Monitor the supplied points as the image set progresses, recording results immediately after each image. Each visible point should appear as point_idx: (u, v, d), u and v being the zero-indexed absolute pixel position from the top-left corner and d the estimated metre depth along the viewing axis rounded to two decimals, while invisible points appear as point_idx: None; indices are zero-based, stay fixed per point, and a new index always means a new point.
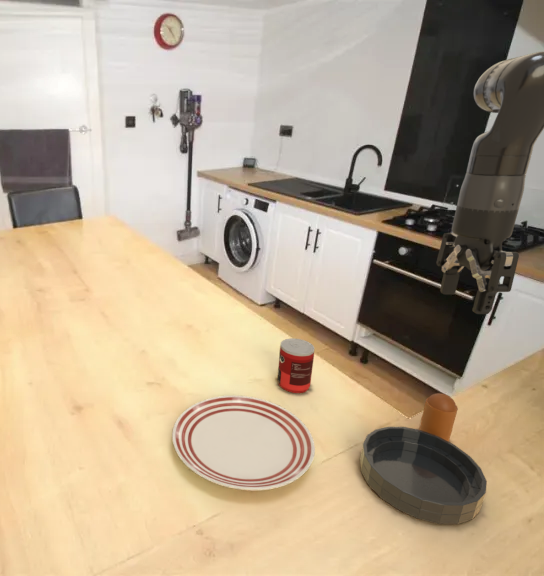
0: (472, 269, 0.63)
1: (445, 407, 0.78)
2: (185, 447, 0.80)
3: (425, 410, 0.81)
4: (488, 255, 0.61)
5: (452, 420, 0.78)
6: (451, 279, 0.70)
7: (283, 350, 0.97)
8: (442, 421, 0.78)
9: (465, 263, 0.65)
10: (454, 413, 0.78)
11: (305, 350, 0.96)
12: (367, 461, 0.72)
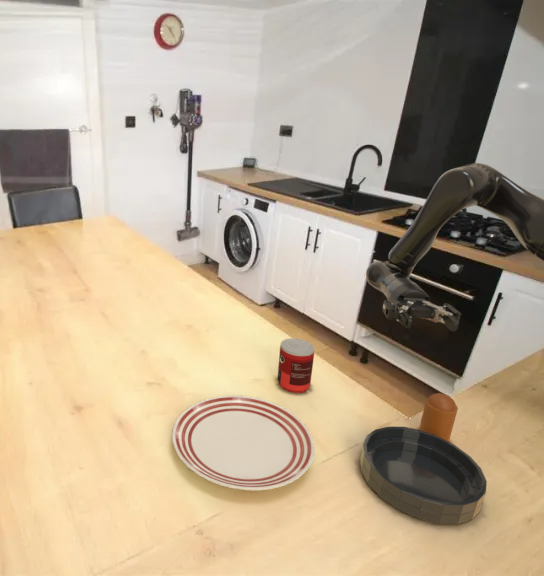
0: None
1: (445, 407, 0.78)
2: (185, 447, 0.80)
3: (425, 410, 0.81)
4: (396, 310, 0.95)
5: (452, 420, 0.78)
6: (447, 322, 0.87)
7: (283, 350, 0.97)
8: (442, 421, 0.78)
9: None
10: (454, 413, 0.78)
11: (305, 350, 0.96)
12: (367, 461, 0.72)
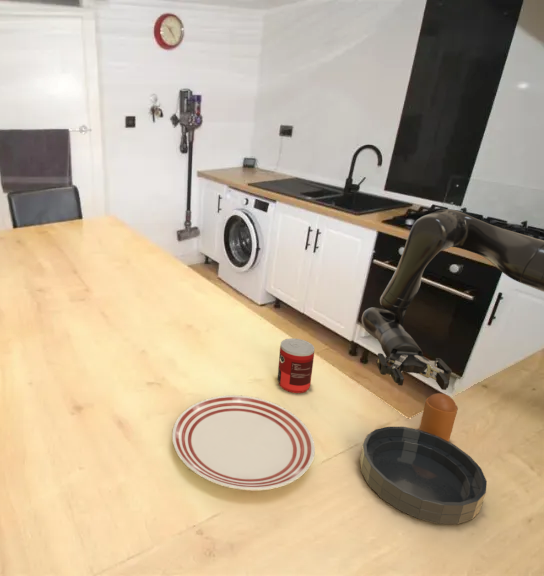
0: None
1: (445, 407, 0.78)
2: (185, 447, 0.80)
3: (425, 410, 0.81)
4: (390, 363, 0.98)
5: (452, 420, 0.78)
6: (438, 379, 0.90)
7: (283, 350, 0.97)
8: (442, 421, 0.78)
9: None
10: (454, 413, 0.78)
11: (305, 350, 0.96)
12: (367, 461, 0.72)
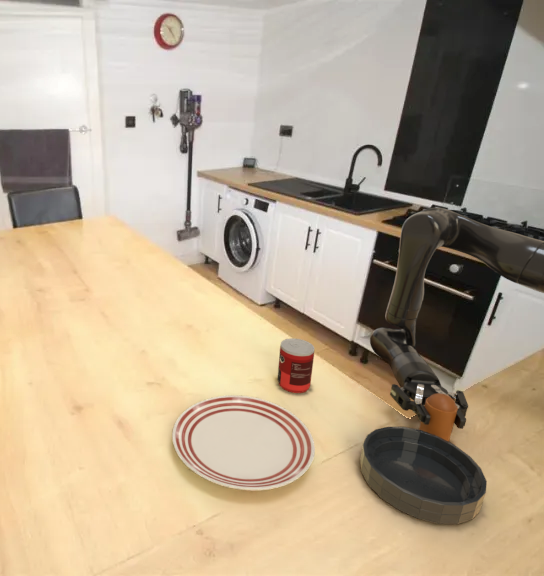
0: None
1: (445, 407, 0.78)
2: (185, 447, 0.80)
3: None
4: None
5: (452, 420, 0.78)
6: None
7: (283, 350, 0.97)
8: (442, 421, 0.78)
9: None
10: (454, 413, 0.78)
11: (305, 350, 0.96)
12: (367, 461, 0.72)
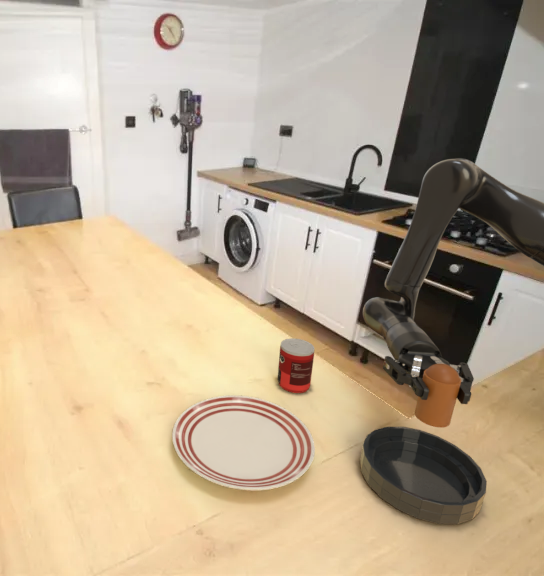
0: None
1: (447, 379, 0.66)
2: (185, 447, 0.80)
3: None
4: None
5: (455, 394, 0.66)
6: None
7: (283, 350, 0.97)
8: (442, 396, 0.67)
9: None
10: (457, 386, 0.66)
11: (305, 350, 0.96)
12: (367, 461, 0.72)
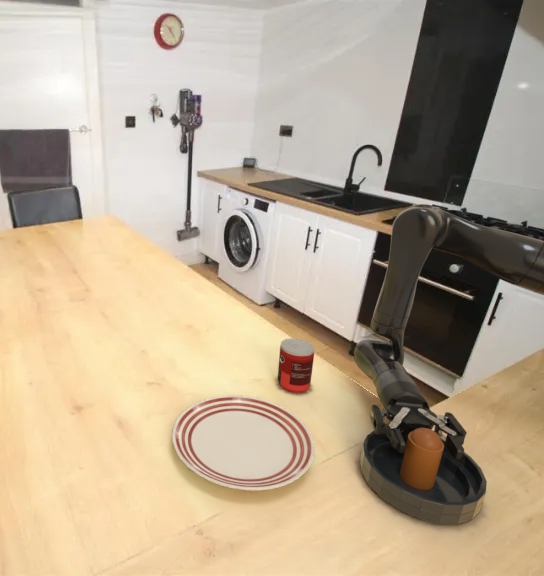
0: None
1: (430, 445, 0.68)
2: (185, 447, 0.80)
3: (407, 447, 0.71)
4: (387, 418, 0.78)
5: (437, 460, 0.68)
6: (449, 444, 0.70)
7: (283, 350, 0.97)
8: (426, 461, 0.68)
9: None
10: (440, 452, 0.68)
11: (305, 350, 0.96)
12: (367, 461, 0.72)
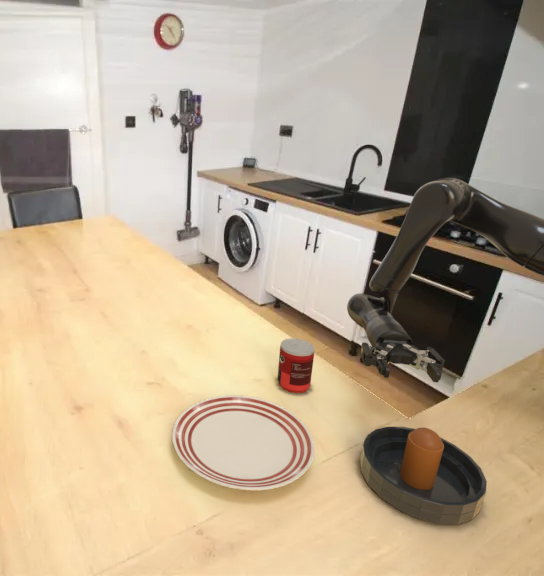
0: None
1: (430, 445, 0.68)
2: (185, 447, 0.80)
3: (407, 447, 0.71)
4: None
5: (437, 460, 0.68)
6: (429, 370, 0.79)
7: (283, 350, 0.97)
8: (426, 461, 0.68)
9: None
10: (440, 452, 0.68)
11: (305, 350, 0.96)
12: (367, 461, 0.72)
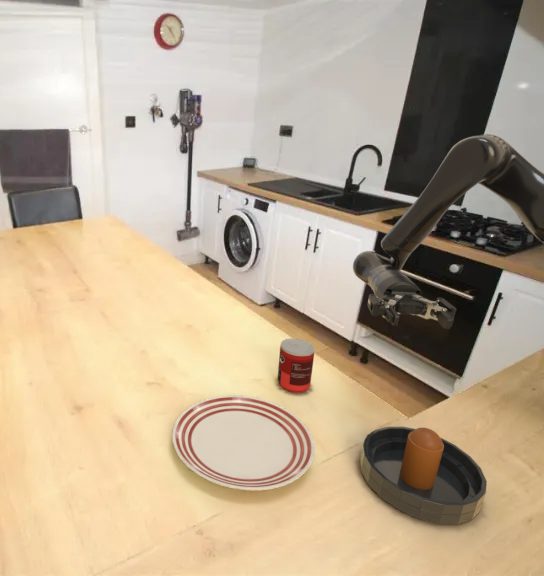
0: None
1: (430, 445, 0.68)
2: (185, 447, 0.80)
3: (407, 447, 0.71)
4: (383, 306, 0.84)
5: (437, 460, 0.68)
6: (440, 318, 0.76)
7: (283, 350, 0.97)
8: (426, 461, 0.68)
9: None
10: (440, 452, 0.68)
11: (305, 350, 0.96)
12: (367, 461, 0.72)
